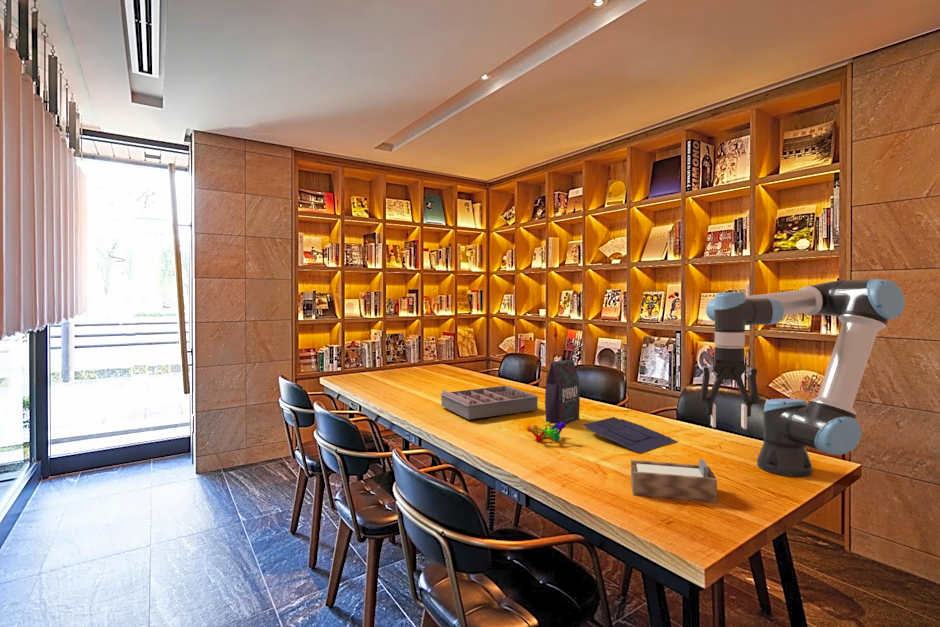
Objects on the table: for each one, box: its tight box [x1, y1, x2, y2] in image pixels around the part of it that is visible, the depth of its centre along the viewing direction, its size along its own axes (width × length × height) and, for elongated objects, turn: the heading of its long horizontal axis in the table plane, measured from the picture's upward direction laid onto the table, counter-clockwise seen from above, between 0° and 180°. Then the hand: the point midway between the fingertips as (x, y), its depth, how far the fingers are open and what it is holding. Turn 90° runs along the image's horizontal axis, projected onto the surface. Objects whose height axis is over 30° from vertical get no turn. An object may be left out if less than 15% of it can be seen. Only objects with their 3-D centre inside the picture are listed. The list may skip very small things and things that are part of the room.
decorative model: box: [526, 421, 567, 443], centre depth 190 cm, size 13×9×15 cm
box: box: [630, 459, 718, 504], centre depth 140 cm, size 22×11×6 cm, turn 75°
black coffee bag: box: [544, 358, 581, 425], centre depth 217 cm, size 8×16×28 cm, turn 133°
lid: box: [636, 459, 709, 478], centre depth 140 cm, size 19×8×4 cm, turn 75°
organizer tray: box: [439, 385, 540, 420], centre depth 241 cm, size 32×40×10 cm
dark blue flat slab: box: [580, 416, 678, 454], centre depth 192 cm, size 24×30×4 cm
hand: (728, 426), depth 136 cm, fingers open, 7 cm apart
